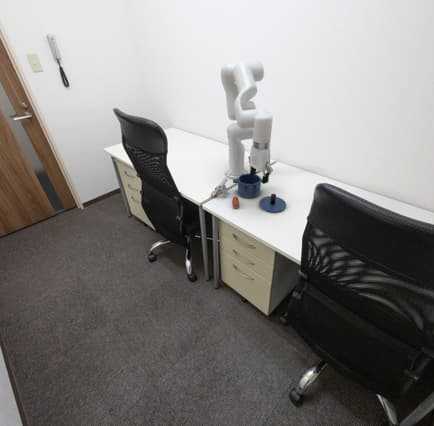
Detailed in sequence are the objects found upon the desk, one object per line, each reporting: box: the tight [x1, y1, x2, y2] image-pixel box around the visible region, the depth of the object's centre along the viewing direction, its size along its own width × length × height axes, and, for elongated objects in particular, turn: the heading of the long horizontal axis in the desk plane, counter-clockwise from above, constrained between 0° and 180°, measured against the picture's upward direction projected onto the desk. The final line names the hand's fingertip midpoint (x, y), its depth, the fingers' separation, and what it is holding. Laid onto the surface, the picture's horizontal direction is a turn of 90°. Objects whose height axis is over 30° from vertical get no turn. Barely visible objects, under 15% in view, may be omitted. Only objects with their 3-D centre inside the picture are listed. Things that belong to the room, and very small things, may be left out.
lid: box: [258, 193, 287, 213], centre depth 120 cm, size 14×14×6 cm
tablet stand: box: [210, 177, 229, 198], centre depth 129 cm, size 9×8×8 cm
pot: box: [232, 173, 262, 199], centre depth 130 cm, size 13×18×8 cm
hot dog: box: [232, 196, 240, 209], centre depth 122 cm, size 8×3×3 cm, turn 0°
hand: (258, 178), depth 113 cm, fingers open, 9 cm apart
